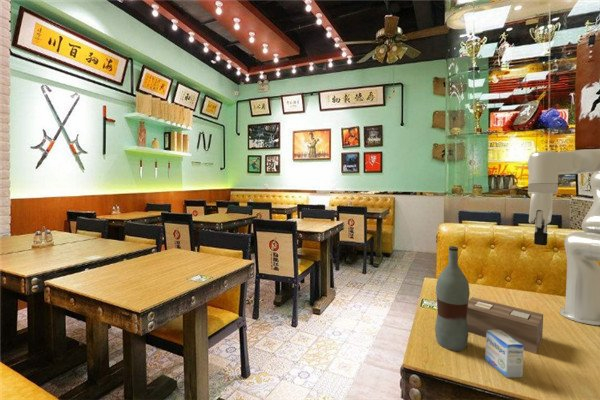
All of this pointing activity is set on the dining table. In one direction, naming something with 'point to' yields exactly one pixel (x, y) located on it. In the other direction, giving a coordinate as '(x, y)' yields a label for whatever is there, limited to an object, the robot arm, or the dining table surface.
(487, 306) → the ash peg
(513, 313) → the pale grey block
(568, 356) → the dining table surface
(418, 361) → the dining table surface
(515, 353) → the medicine box
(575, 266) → the robot arm
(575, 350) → the dining table surface
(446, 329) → the bottle
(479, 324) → the block
